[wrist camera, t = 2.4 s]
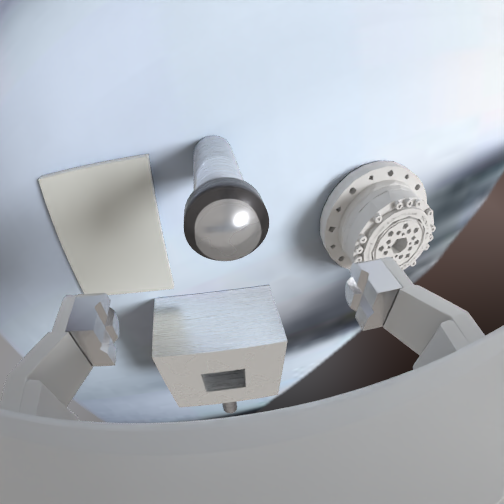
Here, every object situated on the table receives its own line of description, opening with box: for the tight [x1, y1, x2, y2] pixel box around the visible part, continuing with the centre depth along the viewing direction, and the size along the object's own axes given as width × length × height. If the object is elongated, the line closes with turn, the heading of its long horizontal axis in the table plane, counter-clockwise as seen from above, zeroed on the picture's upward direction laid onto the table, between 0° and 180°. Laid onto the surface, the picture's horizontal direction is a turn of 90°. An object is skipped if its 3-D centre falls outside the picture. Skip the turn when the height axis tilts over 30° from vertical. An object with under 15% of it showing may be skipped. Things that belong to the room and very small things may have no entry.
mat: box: [38, 154, 174, 295], centre depth 19 cm, size 11×8×1 cm
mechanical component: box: [320, 161, 435, 270], centre depth 21 cm, size 10×4×10 cm
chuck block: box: [152, 285, 287, 413], centre depth 28 cm, size 19×10×6 cm, turn 0°
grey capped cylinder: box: [184, 135, 269, 261], centre depth 14 cm, size 3×3×9 cm
